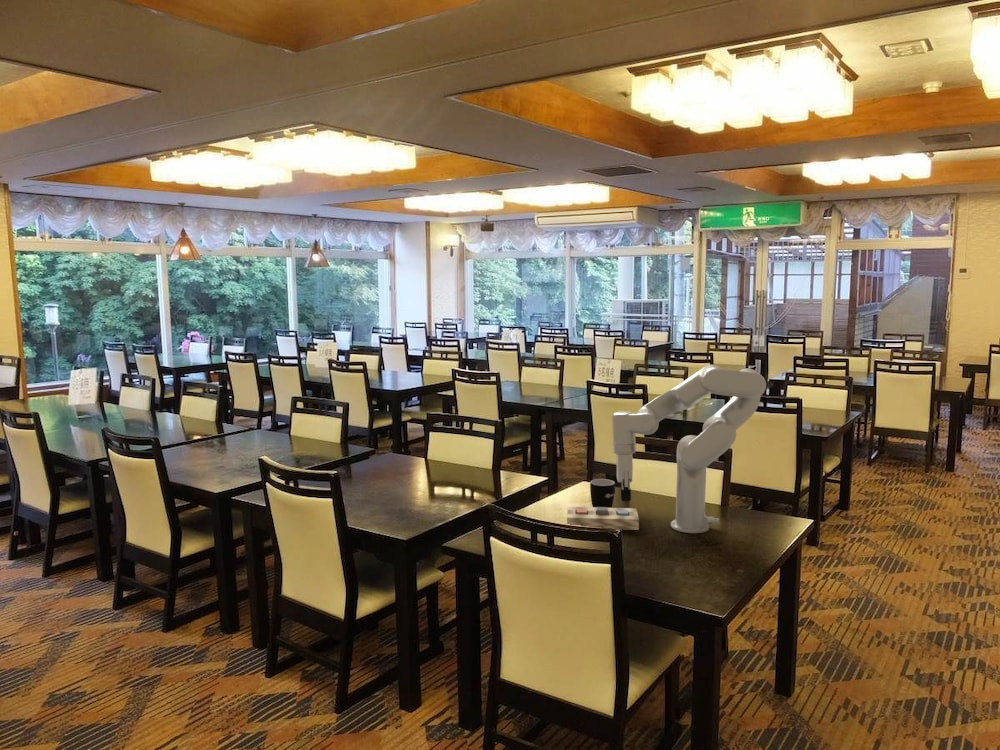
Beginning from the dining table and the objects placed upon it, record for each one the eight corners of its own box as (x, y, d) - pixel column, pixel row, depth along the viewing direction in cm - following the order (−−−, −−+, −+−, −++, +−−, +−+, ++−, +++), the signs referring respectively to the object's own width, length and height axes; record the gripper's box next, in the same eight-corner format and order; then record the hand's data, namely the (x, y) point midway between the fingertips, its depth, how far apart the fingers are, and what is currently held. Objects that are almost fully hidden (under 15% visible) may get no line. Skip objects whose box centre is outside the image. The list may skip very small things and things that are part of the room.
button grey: (607, 514, 251) (607, 507, 251) (607, 518, 247) (607, 510, 247) (596, 514, 251) (596, 506, 251) (597, 518, 248) (597, 510, 247)
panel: (635, 519, 254) (636, 508, 254) (638, 531, 242) (638, 519, 242) (567, 517, 257) (567, 506, 256) (566, 528, 245) (567, 517, 245)
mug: (605, 514, 260) (605, 487, 259) (585, 509, 266) (585, 482, 265) (624, 506, 268) (624, 480, 267) (604, 501, 275) (604, 475, 273)
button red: (586, 516, 252) (587, 509, 251) (587, 520, 248) (587, 512, 248) (576, 516, 252) (576, 508, 252) (576, 519, 249) (576, 511, 248)
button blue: (627, 517, 250) (627, 510, 250) (628, 521, 247) (628, 513, 246) (617, 517, 251) (617, 509, 250) (617, 521, 247) (617, 513, 247)
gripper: (612, 443, 253) (613, 494, 255) (614, 453, 238) (616, 507, 241) (634, 442, 252) (635, 493, 255) (637, 452, 238) (639, 506, 240)
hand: (626, 500), depth 248 cm, fingers closed
